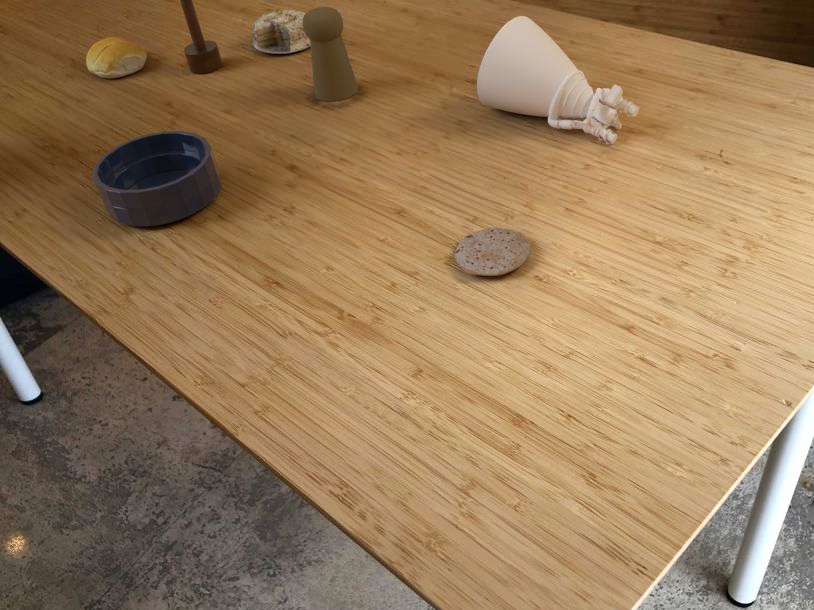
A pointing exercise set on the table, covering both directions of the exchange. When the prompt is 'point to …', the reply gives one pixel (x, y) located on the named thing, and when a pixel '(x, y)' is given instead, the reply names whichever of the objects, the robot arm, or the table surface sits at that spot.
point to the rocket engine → (545, 82)
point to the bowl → (157, 178)
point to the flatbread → (492, 251)
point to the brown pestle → (199, 45)
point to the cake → (280, 32)
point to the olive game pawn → (329, 55)
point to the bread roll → (115, 58)
